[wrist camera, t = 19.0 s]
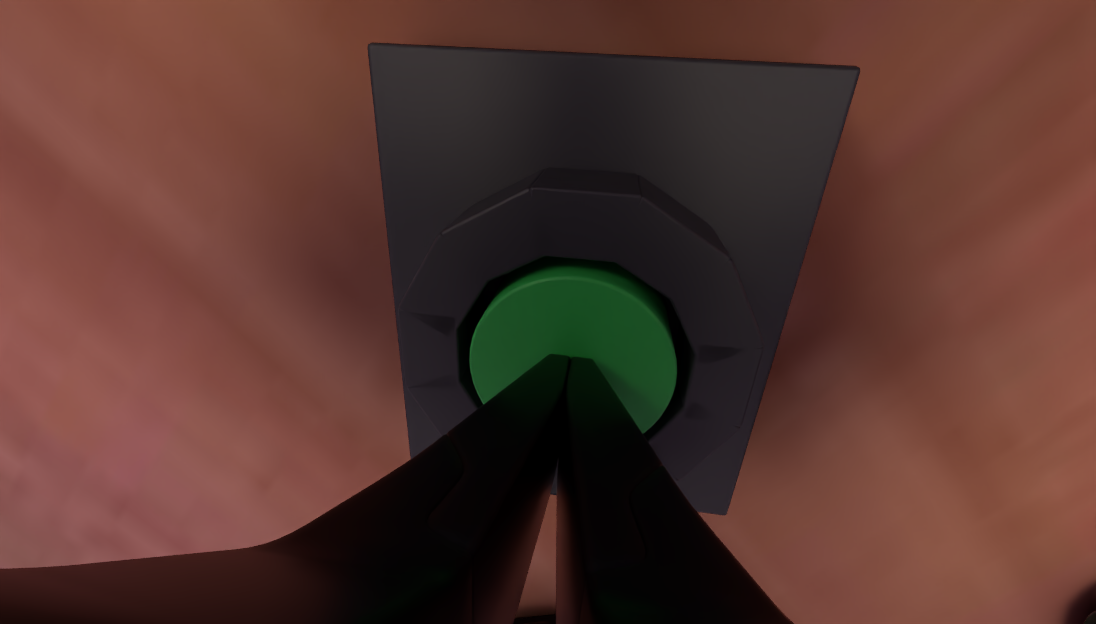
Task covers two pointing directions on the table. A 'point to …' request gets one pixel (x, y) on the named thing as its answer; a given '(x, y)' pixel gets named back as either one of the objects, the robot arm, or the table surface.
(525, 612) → the table surface
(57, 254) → the table surface
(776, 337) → the control box
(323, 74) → the table surface
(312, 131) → the table surface
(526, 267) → the button
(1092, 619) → the coffee jar
